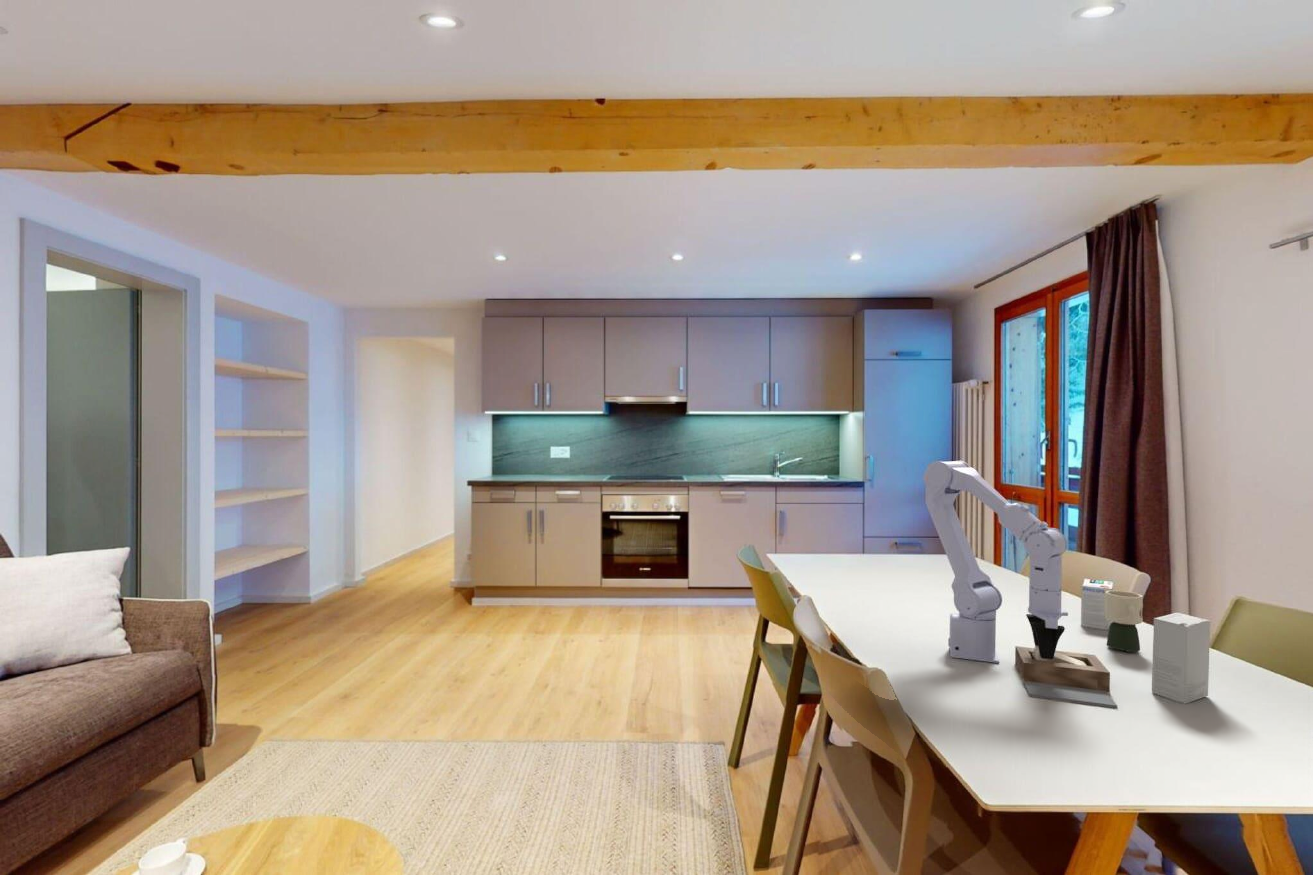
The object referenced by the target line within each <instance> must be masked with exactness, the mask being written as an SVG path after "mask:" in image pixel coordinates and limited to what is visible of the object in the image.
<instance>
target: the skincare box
mask: <svg viewBox="0 0 1313 875" xmlns="http://www.w3.org/2000/svg"><path fill="white" fill-rule="evenodd" d="M1210 635H1211V621H1210V620H1209V619H1204V618H1201V617H1198V616H1197V617H1196V616H1193V615H1189V614H1186V613H1185V614H1184V613H1181V612H1172V613H1170V614H1166V615H1162V616H1158V617H1153V641H1152V668H1151V670H1152V671H1151V693H1152V694H1155V695H1158V696H1161V697H1163V698H1166V699H1170V700H1173V701H1175V702H1178V703H1181V704H1184V705H1186V704H1189V703H1191V702H1194V701H1197V700H1199V699H1203V698H1205V697H1208V696H1209V678H1210V677H1209V676H1210V675H1209V673H1210V671H1209V669H1210V637H1211V636H1210Z"/></svg>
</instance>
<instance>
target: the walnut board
mask: <svg viewBox="0 0 1313 875" xmlns="http://www.w3.org/2000/svg"><path fill="white" fill-rule="evenodd" d="M1034 648H1035V647H1028V646H1018V645H1017V646H1015V650H1014V651H1015V654H1014V655H1015V658H1014V659H1015V661H1014V662H1015V666H1016V669H1017V671H1018V673H1019V675H1020V677H1021V679H1022V681H1030V682H1037V683H1045V684H1053V685H1061V686H1069V687H1076V688H1084V689H1092V690H1100V691H1107V693H1110V692H1111V688H1110V687H1111V685H1110V684H1111V683H1110V682H1111V672H1110V671H1109V670H1108V669H1107V667H1106V666H1105V665H1104V664H1103V663H1102V661H1101V660H1100V659H1099V658H1098V657H1097V656H1096V654H1090V653H1089V654H1088V653H1082V652H1081V653H1080V652H1072V651H1071V652H1070V651H1061V650H1055V652H1057V653H1060V654H1063V655H1066V656H1069V657H1072V658H1074V659H1077V660H1080V661H1083V662H1084V663H1085V664H1086V665H1087V666H1084V665H1076V664H1067V663H1059V662H1050V661H1041V660H1034V659H1033V657H1032V656H1031V655H1032V654H1033V651H1034Z"/></svg>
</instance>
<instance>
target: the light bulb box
mask: <svg viewBox="0 0 1313 875" xmlns="http://www.w3.org/2000/svg"><path fill="white" fill-rule="evenodd" d="M1112 590H1113V591H1114V583H1113V581H1110V580H1108V581H1107V580H1100V579H1099V580H1097V579H1091V578H1090V579H1089V578H1083V583H1082V585H1081V596H1080V597H1081V600H1080V601H1081V606H1080V612H1081V613H1080V627H1083V628H1084V627H1086V628H1093V629H1099V630H1104V631H1105V630H1106V631H1109V626H1110V624H1111V623H1112V621H1110V620H1107V619H1106V618H1105V592H1106V591H1112Z"/></svg>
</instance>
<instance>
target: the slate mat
mask: <svg viewBox="0 0 1313 875" xmlns="http://www.w3.org/2000/svg"><path fill="white" fill-rule="evenodd" d="M1022 681H1023V680H1022ZM1022 684H1023V685H1024V689H1025V690H1026V692H1027V694H1028V696H1029V697H1031V698H1038V699H1045V700H1051V701H1059V702H1068V703H1075V704H1081V705H1088V706H1089V705H1090V706H1097V707H1105V708H1110V709H1111V708H1112V709H1118V704H1117V703H1116V701H1114V699H1113V698H1112V696H1111V695H1110V694H1109V692H1107V691H1100V690H1092V689H1084V688H1076V687H1069V686H1061V685H1053V684H1045V683H1037V682H1030V681H1023V683H1022Z"/></svg>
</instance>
